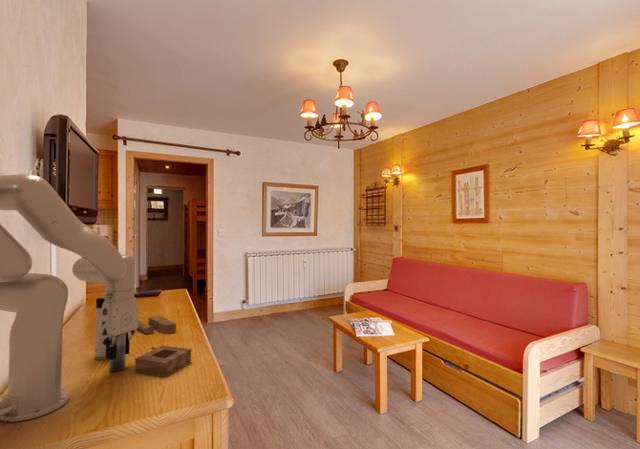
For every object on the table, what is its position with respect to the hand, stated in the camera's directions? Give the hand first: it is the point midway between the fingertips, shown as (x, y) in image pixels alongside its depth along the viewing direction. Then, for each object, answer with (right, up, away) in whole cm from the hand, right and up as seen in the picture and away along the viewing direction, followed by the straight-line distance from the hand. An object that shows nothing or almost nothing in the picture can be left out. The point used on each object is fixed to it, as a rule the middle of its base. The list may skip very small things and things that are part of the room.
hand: (117, 355), depth 96 cm
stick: (+6, -4, +14) cm, 16 cm away
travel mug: (-10, -4, +9) cm, 14 cm away
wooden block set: (-10, -5, +34) cm, 36 cm away
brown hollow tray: (+13, -4, +2) cm, 14 cm away
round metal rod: (0, -4, 0) cm, 4 cm away
